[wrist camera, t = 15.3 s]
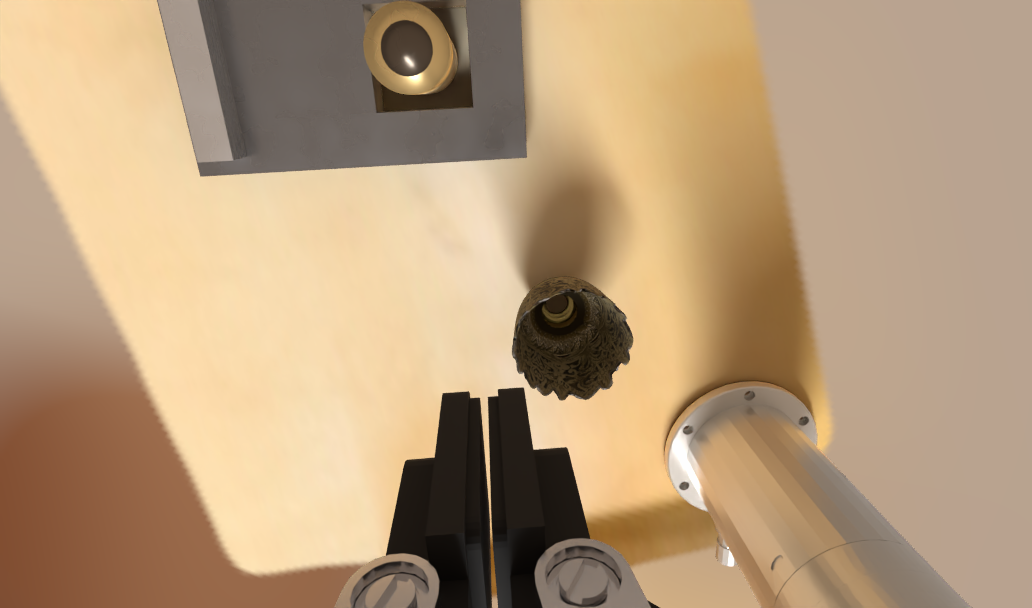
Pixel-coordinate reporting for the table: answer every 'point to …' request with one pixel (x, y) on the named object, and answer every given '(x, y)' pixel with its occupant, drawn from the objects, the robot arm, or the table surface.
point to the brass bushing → (409, 49)
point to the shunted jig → (332, 87)
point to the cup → (570, 339)
